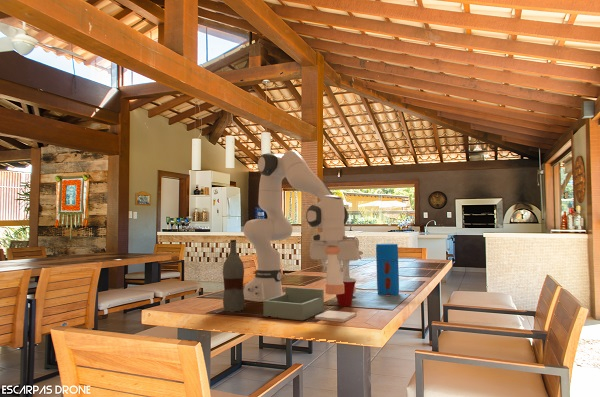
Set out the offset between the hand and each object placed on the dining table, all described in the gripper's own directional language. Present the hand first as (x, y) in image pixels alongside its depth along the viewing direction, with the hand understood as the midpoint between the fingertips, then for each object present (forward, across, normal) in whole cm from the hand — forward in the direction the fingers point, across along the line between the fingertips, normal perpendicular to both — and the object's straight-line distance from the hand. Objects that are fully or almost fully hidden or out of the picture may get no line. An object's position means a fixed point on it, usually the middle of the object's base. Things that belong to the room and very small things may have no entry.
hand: (334, 271), depth 168 cm
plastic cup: (+18, +6, -23) cm, 30 cm away
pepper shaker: (+8, 0, 0) cm, 8 cm away
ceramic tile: (+18, 0, 0) cm, 18 cm away
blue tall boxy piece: (+18, -2, -59) cm, 62 cm away
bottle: (+18, +45, +6) cm, 49 cm away
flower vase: (+18, +15, -44) cm, 50 cm away
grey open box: (+18, +18, +1) cm, 25 cm away
